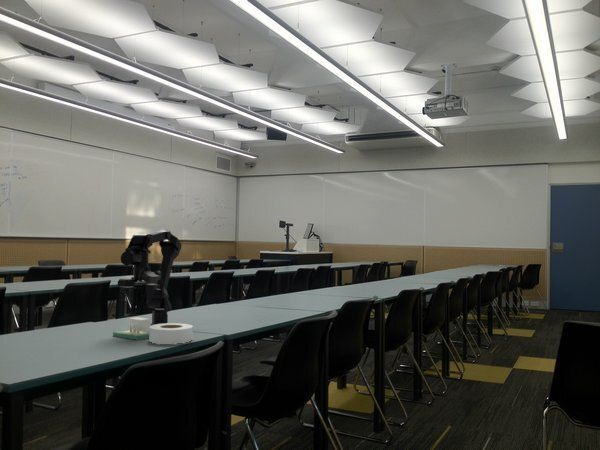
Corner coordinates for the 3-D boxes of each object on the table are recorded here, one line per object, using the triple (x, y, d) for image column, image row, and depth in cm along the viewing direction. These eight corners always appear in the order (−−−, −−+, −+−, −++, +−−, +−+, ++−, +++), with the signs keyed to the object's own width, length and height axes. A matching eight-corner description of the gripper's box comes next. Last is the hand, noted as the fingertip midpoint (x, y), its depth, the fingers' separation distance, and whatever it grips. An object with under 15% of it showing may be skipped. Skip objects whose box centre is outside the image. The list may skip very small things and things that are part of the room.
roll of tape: (193, 336, 206) (193, 322, 206) (191, 344, 190) (192, 329, 190) (151, 337, 203) (151, 323, 203) (146, 345, 188) (147, 329, 188)
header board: (113, 336, 204) (113, 325, 204) (132, 332, 212) (132, 322, 212) (137, 340, 196) (137, 329, 197) (155, 336, 204) (156, 325, 204)
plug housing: (128, 330, 216) (128, 318, 216) (137, 329, 220) (137, 317, 220) (141, 332, 212) (141, 320, 212) (150, 331, 216) (150, 319, 216)
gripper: (135, 266, 205) (134, 306, 204) (171, 264, 220) (171, 302, 220) (117, 265, 211) (116, 304, 210) (153, 263, 226) (152, 300, 226)
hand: (140, 302), depth 216 cm, fingers open, 9 cm apart
